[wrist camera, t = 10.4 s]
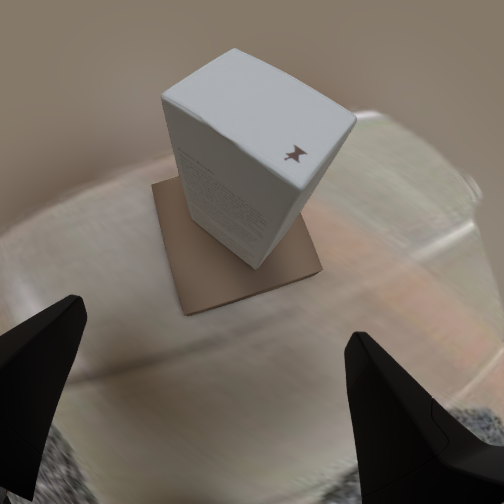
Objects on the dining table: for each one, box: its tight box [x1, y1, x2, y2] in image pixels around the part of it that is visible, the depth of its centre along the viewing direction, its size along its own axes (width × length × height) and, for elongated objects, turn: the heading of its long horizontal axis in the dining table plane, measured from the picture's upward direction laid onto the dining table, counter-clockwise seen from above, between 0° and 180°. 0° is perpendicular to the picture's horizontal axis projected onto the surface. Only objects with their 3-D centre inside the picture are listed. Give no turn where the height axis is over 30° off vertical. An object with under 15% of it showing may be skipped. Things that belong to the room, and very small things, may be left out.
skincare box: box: [161, 48, 357, 270], centre depth 14 cm, size 6×4×12 cm
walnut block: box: [152, 176, 323, 316], centre depth 21 cm, size 10×10×3 cm
